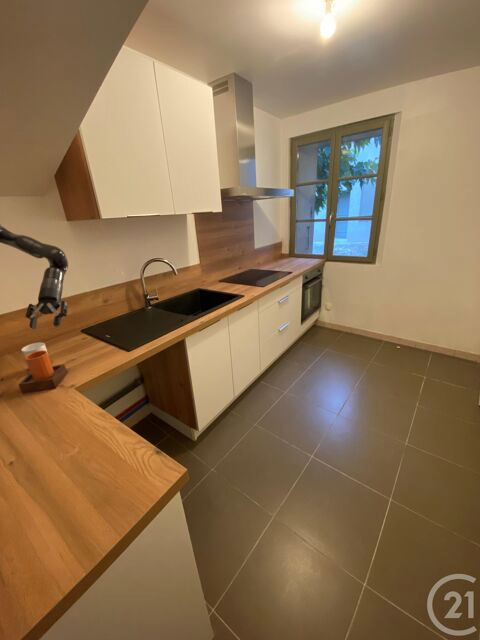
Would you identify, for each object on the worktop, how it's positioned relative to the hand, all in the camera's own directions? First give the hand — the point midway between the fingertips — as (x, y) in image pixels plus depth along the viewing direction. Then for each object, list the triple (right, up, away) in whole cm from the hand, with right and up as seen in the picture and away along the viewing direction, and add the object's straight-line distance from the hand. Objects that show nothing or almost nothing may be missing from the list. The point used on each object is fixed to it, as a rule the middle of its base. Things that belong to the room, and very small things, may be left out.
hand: (44, 327), depth 102 cm
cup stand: (+2, -21, -2) cm, 21 cm away
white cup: (-8, -18, +9) cm, 21 cm away
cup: (+2, -18, -3) cm, 19 cm away
